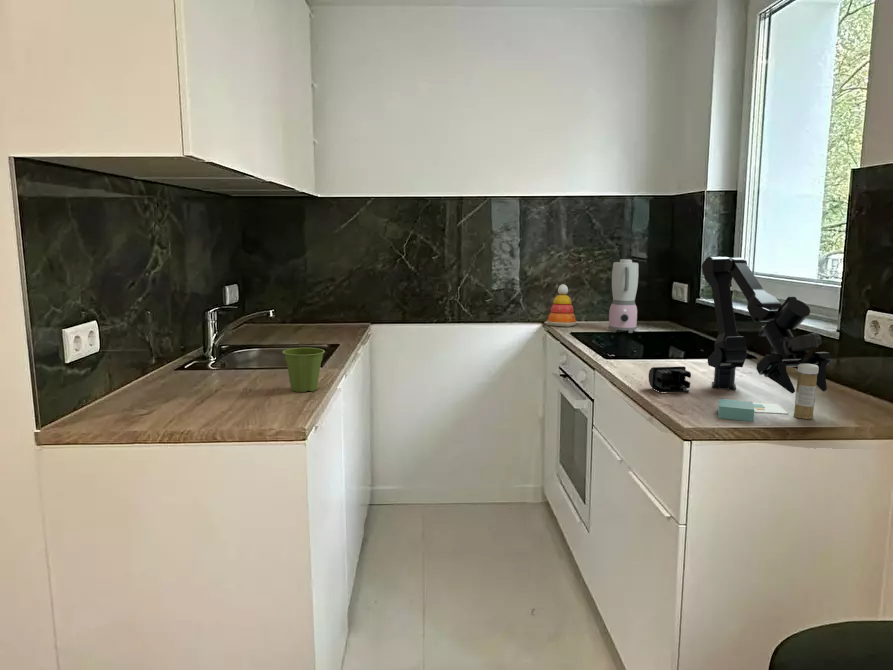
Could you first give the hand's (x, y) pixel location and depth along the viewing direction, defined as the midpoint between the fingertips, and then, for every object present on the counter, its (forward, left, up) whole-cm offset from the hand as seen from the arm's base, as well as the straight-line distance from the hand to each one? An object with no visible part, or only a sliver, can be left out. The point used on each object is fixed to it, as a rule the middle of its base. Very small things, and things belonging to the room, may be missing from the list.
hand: (809, 391), depth 168 cm
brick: (+4, -17, -7) cm, 19 cm away
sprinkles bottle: (-1, -1, -7) cm, 7 cm away
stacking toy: (-131, -88, -7) cm, 158 cm away
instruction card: (-6, -11, -7) cm, 14 cm away
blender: (-124, -59, -7) cm, 137 cm away
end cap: (-18, -34, -7) cm, 39 cm away
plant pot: (+22, -131, -7) cm, 133 cm away
